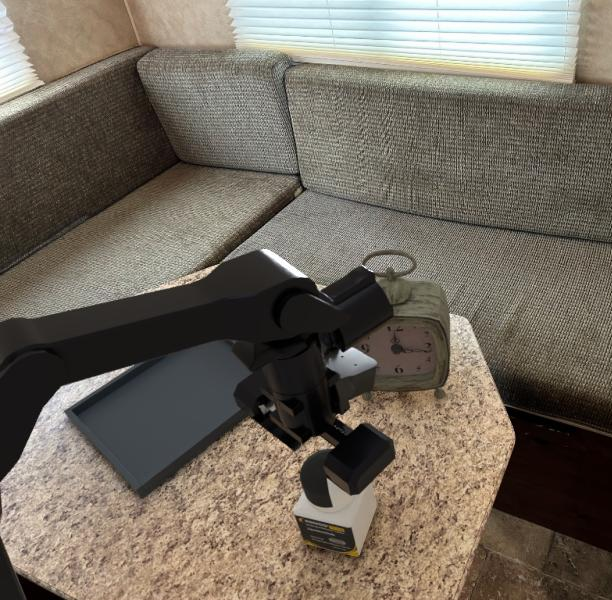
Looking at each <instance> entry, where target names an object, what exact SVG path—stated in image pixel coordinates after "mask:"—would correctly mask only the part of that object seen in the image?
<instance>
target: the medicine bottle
mask: <svg viewBox="0 0 612 600" xmlns="http://www.w3.org/2000/svg"><path fill="white" fill-rule="evenodd" d="M332 449H333V448H324V449H321V450H318V451H315V452H313V453H312V454H311V455H309V456H308V457H307V458H306V459H305V461H303V463H302V465H301V467H300V471H299V481H300V484H301V487H302V492H301V495H300V496H299V498H298V501H297V503H296V505H295V507H294V510H293V516H294V519H295V521H296V523H297V526H298V529H299V533H300V534H301V537H302V540H303V542H304V544H305V545H308V546H312V547H316V548H320V549H323V550H324V549H325V550H328V551H332V552H336V553H340V554H343V555H348V556H352V557H354V558H355V557H356V558H357V557H360V555H361V553H362V549H363V547H364V544H365V541H366V538H367V535H368V532H369V530H370V526H371V524H372V522H373V519H374V516H375V513H376V511H377V507H378V503H377V497H376V493H375V488H374V483H373V481H372V482H371V483H370V484H369V485H368V486H367V487H366V488H365V489H364V490H363V491H362V492H361V493H360V494H359V495H352V496H350V495H348V494H347V493H346V492H344V491H343V490H341V489H340V488H339V487H338V486H336V485H335V484H334V483H333V482H331V481H330V480H329V479H327V478H326V476H327V473H326V472H325V469H324V466H323V464H324V462H325V460H326V457H327V455H328V453H329V452H330V451H331V450H332Z"/></svg>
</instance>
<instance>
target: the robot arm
mask: <svg viewBox="0 0 612 600" xmlns="http://www.w3.org/2000/svg"><path fill="white" fill-rule="evenodd" d="M372 271H373V270H371V269H369V268H368V267H367V266H366V267H364V266H363V265H362V264H359V265H358V266H356V267H354V268H353V269H351V270H350V271H349V272H348V273H346V274H345V275H344V276H342V277H340V278H339V279H337V280H336V281H334V282H332V283H330V284H329V285H327V286H325V287H323V288H322V289H319V288H318V285H317V284H316V282H315V281H314V280H312V279H311V278H310V277H309V276H307V275H306V274H305V273H303V271H301V270H299V269H298V268H297V267H295V266H294V265H292V264H291V263H290V262H289V261H287V260H285V259H284V258H283V257H281V256H280V255H279V254H277V253H276V252H273V251H272V250H269V249H266V248H265V249H263V248H262V249H254V250H251V251H249V252H246V253H243V254H241V255H239V256H236V257H233V258H231V259H228V260H225V261H222V262H221V263H219V264H218V265H217V266H216V267H215V268H213V269H212V270H211V271H210V272H209V273H208V274H207V275H205V276H204V277H203V278H199V279H197V280H195V281H192V282H189V283H184V284H181V285H176V286H171V287H167V288H163V289H158V290H154V291H149V292H144V293H139V294H135V295H132V296H127V297H122V298H118V299H112V300H109V301H103V302H101V303H96V304H92V305H88V306H82V307H78V308H74V309H70V310H65V311H61V312H55V313H52V314H51V313H50V314H46V315H43V316H37V317H31V318H30V317H29V318H28V317H24V316H22V317H21V316H19V317H9V318H7V319H5V320H2V321H0V483H2V482H3V480H4V479H5V478H6V477H7V475H9V473H10V472H11V471H12V470H13V469H14V467H15V466H16V465H17V464H18V462H19V461H20V459H21V457H22V455H23V453H24V450H25V448H26V446H27V444H28V442H29V440H30V438H31V435H32V433H33V431H34V429H35V426H36V424H37V422H38V420H39V418H40V416H41V414H42V411H43V409H44V408H45V406H46V405H47V404H48V403H49V402H50V401H51V399H52V398H53V397H54V396H55V395H56V393H57V392H58V391H59V390H60V389H61V387H64V386H68V385H71V384H75V383H78V382H82V381H85V380H90V379H92V378H95V377H98V376H102V375H105V374H109V373H112V372H115V371H119V370H122V369H125V368H130V367H132V366H134V365H136V364H139V363H143V362H146V361H149V360H153V359H156V358H160V357H163V356H166V355H170V354H173V353H176V352H180V351H183V350H187V349H190V348H193V347H197V346H200V345H203V344H207V343H210V342H216V341H223V340H230V341H236V342H235V344H234V345H233V347H232V348H231V353H232V354H233V355H234V356H235V357H236V358H237V359H238V360H239V361H240V362H241V363H242V364H243V365H244V366H245V367H246V368H247V369H248V370H249V371H250V372H253V373H252V374H250V375H249V376H248V377H246V378H245V379H244V380H242V381H241V382H240V383H238V384H237V387H236V389H235V391H234V394H233V396H234V399H235V401H236V404H237V406H238V407H239V408H241V409H242V410H243V411H244V412H246V414H247V415H248V416H247V417H249V418H250V419H251V420H253V421H254V422H255V423H256V424H258V425H259V426H260V427H262V428H263V429H264V430H266V431H267V432H268V433H269V434H271V436H273V437H275V438H276V439H277V440H278V441H279V442H281V443H282V444H283V445H285V446H286V447H287V448H288V449H290V450H291V451H292V452H297V451H298V450H299V449H300V448H301V447H302V445H304V444H306V443H307V442H308V441H309V440H310V439H311V438H317V437H320V438H322V439H323V440H324V441H326V442H327V443H328V444H329V445H331V446H332V447H333V448H331V449H332V450H331V451H330V452H329V453H328V455H327V457H326V460H325V462H324V464H323V466H324V469H325V472H326V473H327V476H326V478H327V479H329V480H330V481H331V482H333V483H334V484H335V485H336V486H338V487H339V488H340V489H341V490H343V491H344V492H346V493H347V494H348V495H350V496H352V495H359V494H360V493H361V492H362V491H363V490H364V489H365V488H366V487H367V486H368V485H369V484H370V483H371V482H372V483H373V481H374V480H375V479H377V478H378V477H379V476H380V474H381V473H383V472H384V470H386V468H388V467H389V466H390V464H392V462H394V460H396V458H397V457H396V449H395V441H394V439H393V438H391V437H390V436H388V435H386V434H385V433H384V432H382V431H381V430H380V429H378V428H377V427H375V426H374V425H372V424H371V423H369V422H361V423H360V424H358V425H357V426H355V428H352V427H350V426H349V425H347V424H346V423H345V422H344V421H342V420H340V419H339V418H337V415H340V416H344V415H345V414H346V413H347V412H348V411H350V409H351V405H350V401H351V400H354V399H355V398H358V397H359V396H362V394H364V393H366V392H368V393H369V392H373V391H372V390H373V389H374V383H375V376H376V369H377V362H376V361H375V360H374V359H372V358H370V357H369V356H367V355H365V354H364V353H362V352H360V351H359V350H357V349H355V348H353V346H355V345H356V344H358V343H359V342H361V341H363V340H364V339H366V338H367V337H369V336H370V335H372V334H373V333H375V332H376V331H378V330H379V329H381V328H382V327H384V326H385V325H387V324H388V323H390V322H391V321H392V320H393V317H394V310H393V306H392V304H390V302H389V300H388V298H387V296H386V294H385V292H384V291H383V289H382V288H381V287H380V285H379V284H378V283H377V282H376V279H377V277H376V276H375V273H374V272H375V271H374V272H372ZM1 490H2V489H1V487H0V523H1V522H2V517H3V503H2V502H3V501H2V491H1ZM19 580H20V579H19V578H18V575H17V573H16V570H15V567H14V566H13V562H12V561H11V558H10V556H9V553H8V551H7V548H6V546H5V543H4V541H3V538H2V536H1V534H0V600H27V597H26V595H25V593H24V590H23V588H22V585H21V583H20V581H19Z"/></svg>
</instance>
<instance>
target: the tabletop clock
mask: <svg viewBox="0 0 612 600" xmlns="http://www.w3.org/2000/svg"><path fill="white" fill-rule="evenodd" d="M380 256H401V257H405V258H406V259H408V260H410V261H411V262H412V267H410V268H409V269H406V270H403V271H402V270H401V271H395V268H393V267H392V266H389V267H388V266H387V268H386V269H385V272H379V271H373V270H371V271H372V272H374V273H375V277H376V282H377V283H378V284H379V285H380V287H381V288H382V289H383V291H384V292H385V294H386V296H387V298H388V300H389V302H390V304H392V306H393V310H394V317H393V320H392V321H391V322H390V323H388V324H387V325H385V326H384V327H382V328H381V329H379V330H378V331H376V332H375V333H373V334H372V335H370V336H369V337H367V338H366V339H364V340H363V341H361V342H359V343H358V344H356V345H355V346H353V348H355V349H357V350H359V351H360V352H362V353H364V354H365V355H367V356H369V357H370V358H372V359H374V360H375V361H376V362H377V369H376V376H375V383H374V389H373V390H372V391H371V392H369V393H368V392H366V393H364V394H362V395H361V398H362V399H363V400H364V401H370V400H372V398H373V392H383V393H384V392H386V393H409V392H425V391H433V390H434V391H433V396H434V398H435V399H437V400H443V399H444V398H445V397H446V392H445V389H443V387H445V385H446V383H447V382H448V379H449V375H450V370H451V369H450V368H451V316H450V315H451V314H450V308H449V302H448V298H447V296H446V292H445V290H444V289H443V287H442V286H441V284H440V283H438V282H437V281H436V280H432V279H430V278H425V277H405V276H408V275H411V274H412V273H413V272H414V271H416V268H418V267H417V266H418V262H417V259H416V258H415V257H414V256H413V255H412V254H411V253H409V252H407V251H403V250H402V249H401V250H400V249H381V250H380V249H379V250H375V251H373V252H371V253H369V254H367V255H366V256H365V257H363V260H362V262H361V265H363V266H364V267H366V268H367V266H366V264H367V263H368V261H370V260H371V259H373V258H375V257H380Z"/></svg>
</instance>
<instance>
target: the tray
mask: <svg viewBox="0 0 612 600" xmlns="http://www.w3.org/2000/svg"><path fill="white" fill-rule="evenodd" d="M235 342H236V341H230V340H223V341H216V342H210V343H207V344H203V345H200V346H197V347H193V348H190V349H187V350H183V351H180V352H176V353H173V354H170V355H166V356H163V357H160V358H156V359H153V360H149V361H146V362H143V363H139V364H136V365H133V366H130V367H128V369H126V370H125V371H123V372H121V373H120V374H118V375H117V376H115V377H114V378H112V379H110V380H109V381H107V382H105V384H103V385H102V386H100V387H98V388H96V389H95V390H93V391H91V392H90V393H89V394H87V395H85V396H84V397H83V398H81V399H80V400H78V401H76V402H75V403H73V404H72V405H71V406H69V407H67V408H66V409H64V410H63V412H64V414H65V415H66V417H67V418H68V420H69V421H70V422H71V424H72V425H73V426H75V428H76V429H77V430H78V431H79V432H80V433H81V434H82V436H83V437H84V438H85V439H86V440H87V441H88V442H89V443H90V444H91V445H92V446H93V447H94V449H95V450H96V451H97V452H98V453H99V454H100V455H101V456H102V457H103V458H104V459H105V461H107V463H108V464H109V465H110V466H111V467H112V468H113V470H115V472H117V474H118V475H119V476H120V477H121V478H122V479H123V480H124V481H125V482H126V483H127V485H129V487H130V488H131V489H132V490H133V491H134V492H135V493H136V494H137V496H138V497H139V498H140V499H144V498H145V497H147V496H148V495H149V494H150V493H151V492H153V491H154V490H155V489H156V488H158V487H159V486H160V485H161V484H163V483H164V482H165V481H167V480H168V479H169V478H170V477H172V476H173V475H175V473H177V472H178V471H180V470H181V469H182V468H183V467H185V466H186V465H187V464H188V463H190V462H191V461H193V460H194V459H195V458H196V457H198V456H199V455H200V454H201V453H202V452H204V451H205V450H207V449H208V448H209V447H210V446H211V445H213V444H214V443H215V442H216V441H218V440H219V439H220V438H221V437H223V436H224V435H226V433H228V432H229V431H230V430H232V429H233V428H234V427H236V426H237V425H238V424H239V423H240V422H242V421H243V420H244V419H245V418H247V417H249V416H248V415H247V414H246V412H244V411H243V410H242V409H241V408H239V407H238V406H237V404H236V401H235V399H234V396H233V394H234V391H235V389H236V387H237V384H238V383H240V382H241V381H242V380H244V379H245V378H246V377H248V376H249V375H250V374H252V373H253V372H250V371H249V370H248V369H247V368H246V367H245V366H244V365H243V364H242V363H241V362H240V361H239V360H238V359H237V358H236V357H235V356H234V355H233V354H232V353H231V348H232V347H233V345H234V344H235Z"/></svg>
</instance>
